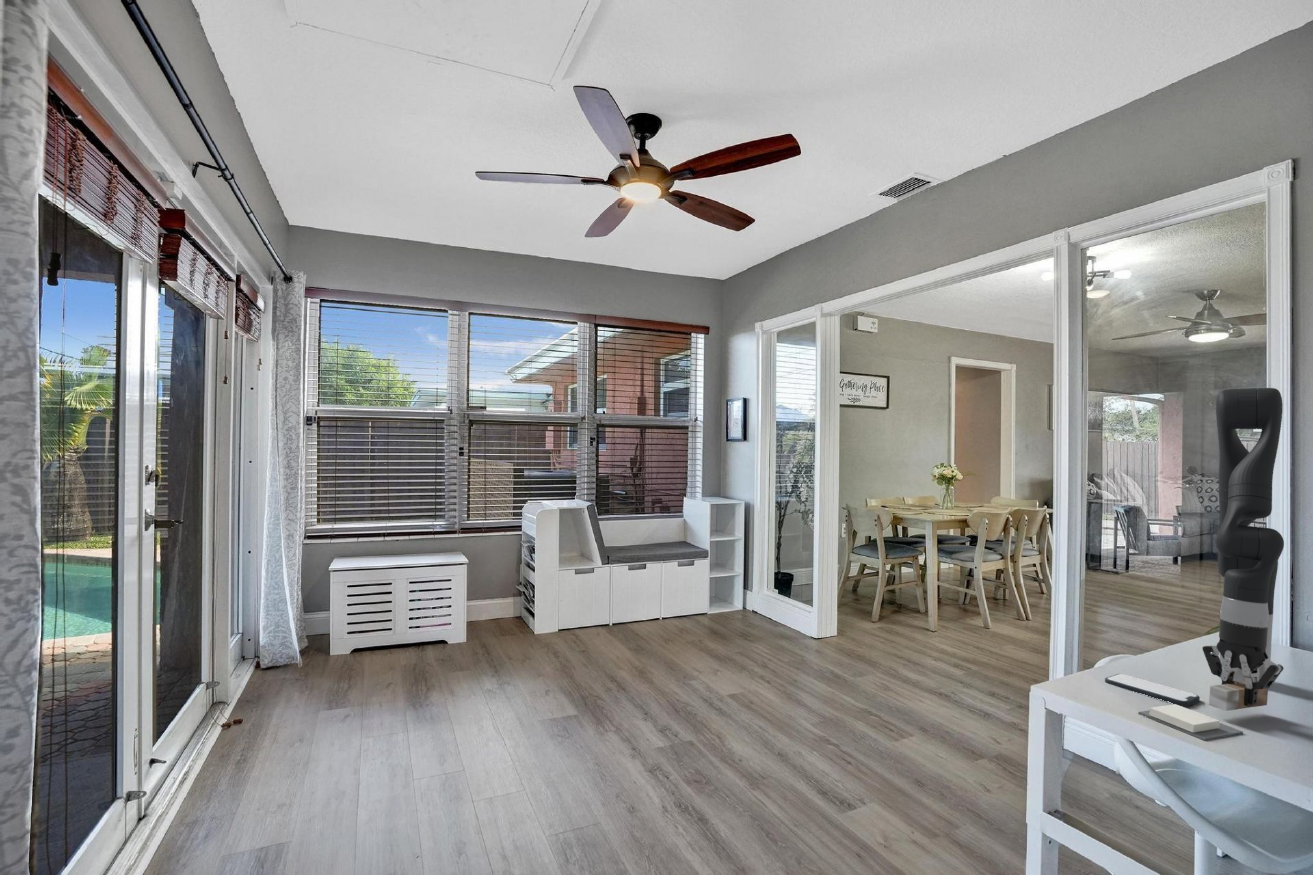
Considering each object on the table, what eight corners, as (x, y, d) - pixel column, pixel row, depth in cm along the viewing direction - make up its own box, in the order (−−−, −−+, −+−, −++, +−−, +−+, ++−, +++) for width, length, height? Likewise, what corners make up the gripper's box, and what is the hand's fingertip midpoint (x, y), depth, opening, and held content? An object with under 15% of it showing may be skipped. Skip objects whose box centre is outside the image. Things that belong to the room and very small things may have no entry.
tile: (1175, 703, 137) (1149, 707, 134) (1219, 720, 129) (1193, 724, 126) (1174, 712, 137) (1149, 715, 134) (1218, 729, 129) (1193, 733, 126)
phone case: (1102, 684, 154) (1185, 709, 140) (1102, 678, 154) (1185, 702, 140) (1119, 679, 159) (1201, 702, 145) (1119, 672, 159) (1201, 695, 145)
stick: (1249, 699, 142) (1251, 680, 142) (1266, 705, 139) (1268, 686, 139) (1209, 704, 137) (1210, 685, 137) (1225, 710, 134) (1227, 691, 134)
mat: (1175, 708, 140) (1176, 706, 140) (1242, 733, 129) (1243, 731, 129) (1138, 713, 136) (1138, 711, 136) (1204, 740, 125) (1204, 738, 125)
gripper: (1296, 629, 133) (1290, 714, 133) (1216, 610, 146) (1211, 688, 146) (1274, 631, 130) (1268, 718, 130) (1194, 612, 143) (1189, 690, 143)
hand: (1238, 701), depth 138 cm, fingers closed on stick, 3 cm apart
